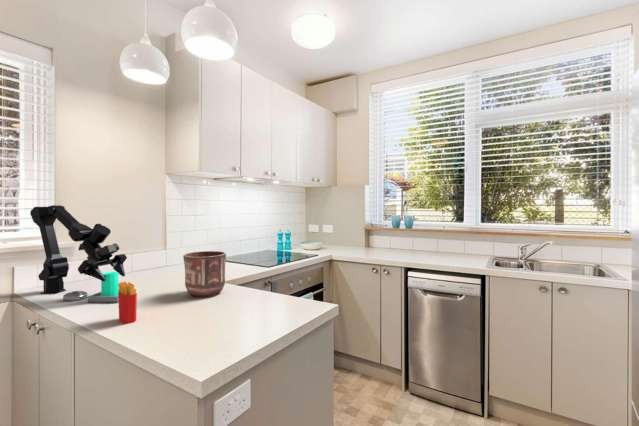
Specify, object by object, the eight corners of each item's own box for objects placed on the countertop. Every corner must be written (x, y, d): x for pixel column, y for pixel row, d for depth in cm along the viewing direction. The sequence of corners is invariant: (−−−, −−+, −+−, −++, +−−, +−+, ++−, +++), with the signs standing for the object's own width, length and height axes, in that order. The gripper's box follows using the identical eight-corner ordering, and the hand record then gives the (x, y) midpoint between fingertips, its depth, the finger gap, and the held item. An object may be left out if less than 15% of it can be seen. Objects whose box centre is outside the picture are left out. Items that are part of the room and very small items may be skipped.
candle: (118, 298, 133) (118, 269, 133) (101, 300, 130) (101, 271, 129) (118, 295, 138) (118, 267, 138) (101, 297, 135) (101, 268, 134)
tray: (87, 302, 129) (87, 296, 129) (108, 294, 141) (107, 288, 141) (117, 303, 129) (117, 296, 129) (134, 294, 141) (134, 289, 141)
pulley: (58, 301, 130) (58, 294, 130) (73, 296, 138) (73, 289, 138) (77, 301, 130) (77, 294, 130) (91, 296, 138) (91, 289, 138)
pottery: (199, 287, 154) (198, 250, 153) (232, 289, 150) (232, 251, 150) (175, 298, 137) (174, 256, 136) (212, 300, 133) (212, 257, 132)
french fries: (139, 321, 108) (138, 283, 108) (124, 325, 105) (124, 285, 105) (129, 315, 114) (129, 279, 114) (116, 318, 111) (115, 281, 111)
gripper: (82, 240, 126) (104, 269, 124) (123, 236, 144) (143, 261, 142) (68, 259, 129) (89, 288, 126) (110, 252, 147) (129, 278, 144)
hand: (114, 278), depth 134 cm, fingers open, 9 cm apart
